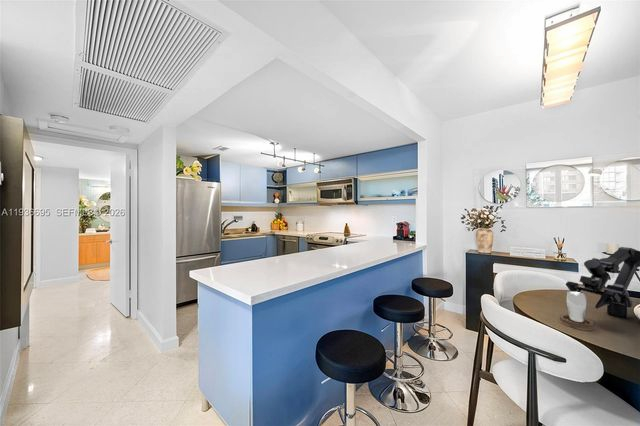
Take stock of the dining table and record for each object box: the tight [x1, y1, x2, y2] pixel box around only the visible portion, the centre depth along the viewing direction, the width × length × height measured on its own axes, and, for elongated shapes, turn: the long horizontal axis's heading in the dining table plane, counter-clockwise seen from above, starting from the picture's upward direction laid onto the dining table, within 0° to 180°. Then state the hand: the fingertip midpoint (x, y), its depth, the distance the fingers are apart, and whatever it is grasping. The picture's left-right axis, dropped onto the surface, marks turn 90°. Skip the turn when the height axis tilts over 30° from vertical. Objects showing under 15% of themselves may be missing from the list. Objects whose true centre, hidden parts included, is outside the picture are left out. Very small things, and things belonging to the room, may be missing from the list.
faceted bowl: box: [558, 314, 595, 332], centre depth 122 cm, size 12×12×2 cm
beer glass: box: [566, 290, 588, 324], centre depth 122 cm, size 7×7×15 cm
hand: (583, 304), depth 124 cm, fingers open, 9 cm apart
